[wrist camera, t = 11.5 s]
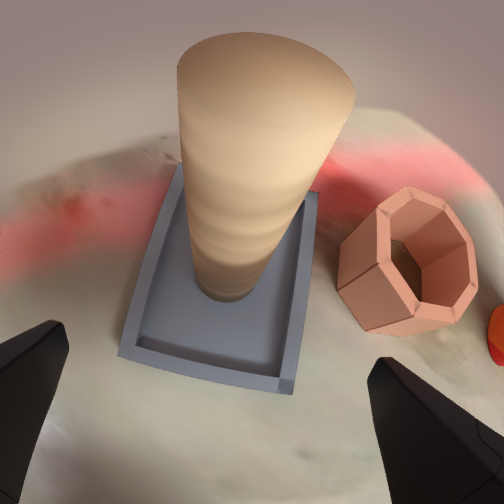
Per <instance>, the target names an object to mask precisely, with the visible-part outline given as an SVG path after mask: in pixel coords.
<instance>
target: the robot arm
mask: <svg viewBox="0 0 504 504" xmlns="http://www.w3.org/2000/svg"><path fill="white" fill-rule="evenodd" d="M68 352H69V343H68V339H67V336H66V332H65V328H64V325H63V324H62V323H61V322H59V321H55V320H48V321H46V322H44V323H42V324H40V325H38V326H36V327H34V328H31V329H29V330H27V331H25V332H23V333H21V334H19V335H17V336H15V337H13V338H11V339H9V340H7V341H5V342H3V343H1V344H0V504H18V503H19V500H20V496H21V492H22V488H23V484H24V480H25V477H26V473H27V470H28V467H29V463H30V460H31V457H32V454H33V451H34V448H35V445H36V442H37V439H38V436H39V434H40V431H41V428H42V425H43V423H44V420H45V418H46V415H47V412H48V410H49V407H50V405H51V402H52V400H53V397H54V395H55V392H56V389H57V386H58V383H59V379H60V376H61V373H62V370H63V367H64V364H65V361H66V358H67V355H68ZM367 386H368V391H369V397H370V404H371V410H372V416H373V423H374V428H375V432H376V436H377V440H378V444H379V448H380V452H381V456H382V460H383V464H384V469H385V473H386V477H387V482H388V487H389V491H390V496H391V501H392V504H504V437H503V436H501V435H500V434H498V433H497V432H495V431H494V430H492V429H491V428H489V427H488V426H486V425H485V424H483V423H482V422H481V421H479V420H478V419H475V417H474V416H472V415H471V414H470V413H468V412H467V411H465V410H464V409H463V408H461V407H460V406H459V405H457V404H456V403H454V402H453V401H452V400H450V399H449V398H447V397H446V396H445V395H443V394H442V393H441V392H439V391H438V390H436V389H435V388H434V387H432V386H431V385H430V384H428V383H427V382H425V381H424V380H423V379H421V378H420V377H418V376H417V375H416V374H414V373H413V372H412V371H410V370H409V369H407V368H406V367H405V366H403V365H402V364H401V363H399V362H398V361H396V360H395V359H394V358H392V357H380V358H379V359H377V361H376V363H375V365H374V367H373V369H372V370H371V372H370V374H369V376H368V380H367Z"/></svg>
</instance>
